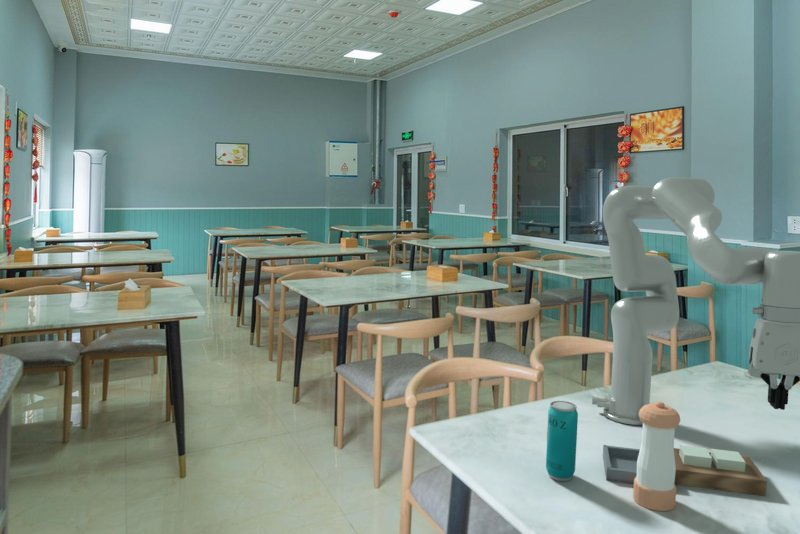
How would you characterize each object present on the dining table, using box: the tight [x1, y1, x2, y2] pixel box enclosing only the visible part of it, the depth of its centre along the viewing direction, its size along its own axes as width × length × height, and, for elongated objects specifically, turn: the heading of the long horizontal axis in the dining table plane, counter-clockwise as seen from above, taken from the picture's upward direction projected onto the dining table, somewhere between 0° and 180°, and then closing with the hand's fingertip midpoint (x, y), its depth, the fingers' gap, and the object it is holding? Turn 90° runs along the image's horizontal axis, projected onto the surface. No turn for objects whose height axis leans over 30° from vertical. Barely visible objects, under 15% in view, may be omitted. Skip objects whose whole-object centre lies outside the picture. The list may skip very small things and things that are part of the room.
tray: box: [602, 444, 676, 485], centre depth 120 cm, size 13×12×2 cm
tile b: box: [678, 444, 712, 468], centre depth 118 cm, size 5×5×2 cm
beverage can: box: [545, 400, 579, 482], centre depth 117 cm, size 6×6×15 cm
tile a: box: [710, 448, 746, 472], centre depth 117 cm, size 5×5×2 cm
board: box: [674, 447, 768, 497], centre depth 118 cm, size 16×11×3 cm
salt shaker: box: [632, 401, 681, 512], centre depth 107 cm, size 7×7×19 cm
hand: (777, 407), depth 113 cm, fingers closed
